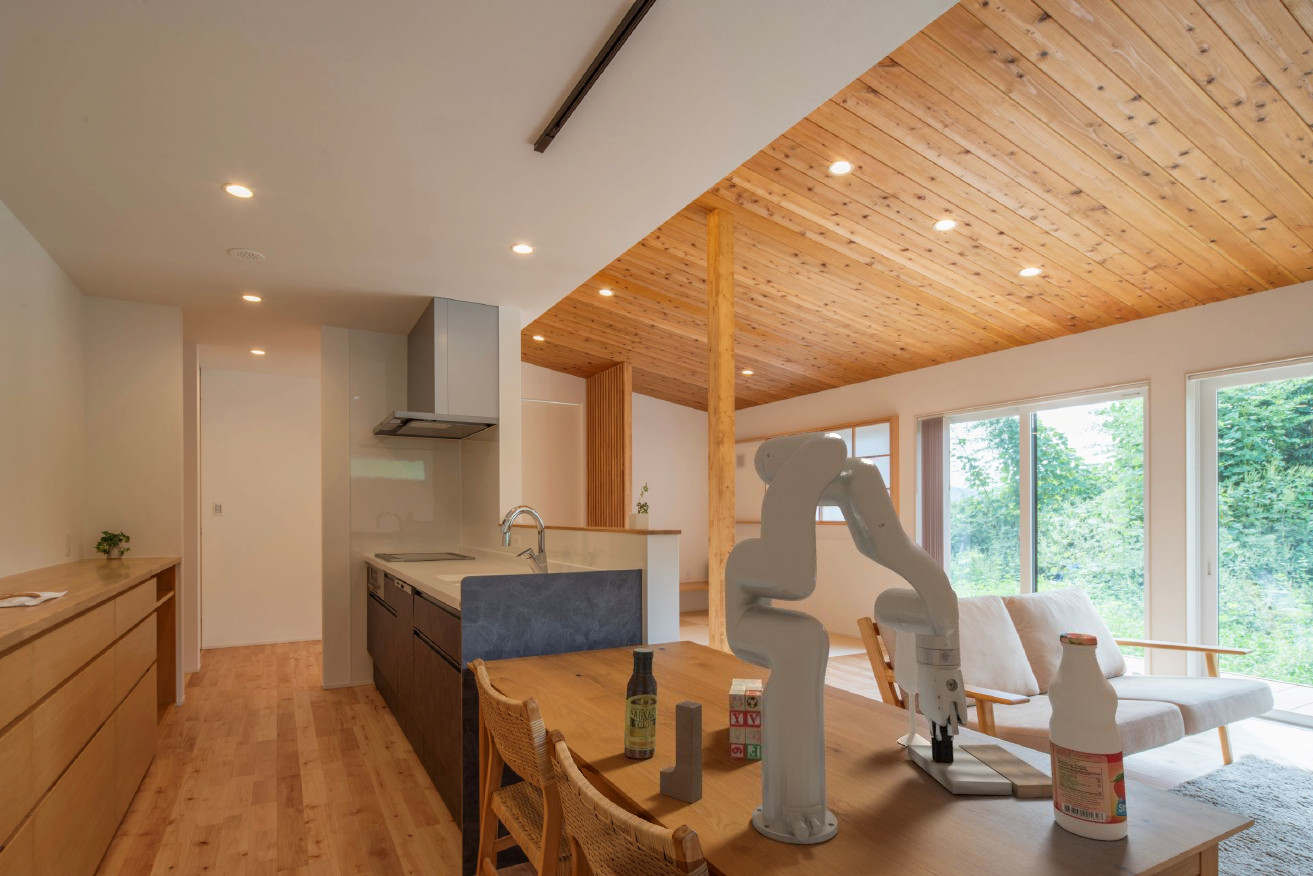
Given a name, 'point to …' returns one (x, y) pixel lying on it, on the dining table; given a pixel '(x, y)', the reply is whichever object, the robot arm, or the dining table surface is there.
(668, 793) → the wooden block
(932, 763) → the grey plank
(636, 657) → the sauce bottle
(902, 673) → the champagne flute
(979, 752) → the walnut floor strip
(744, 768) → the dining table surface
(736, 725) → the stack of blocks
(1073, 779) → the fruit juice
